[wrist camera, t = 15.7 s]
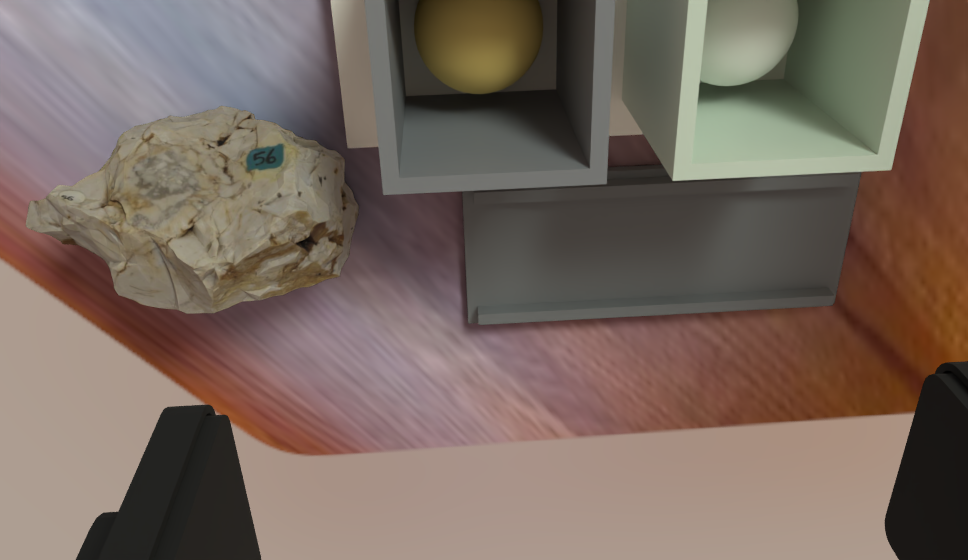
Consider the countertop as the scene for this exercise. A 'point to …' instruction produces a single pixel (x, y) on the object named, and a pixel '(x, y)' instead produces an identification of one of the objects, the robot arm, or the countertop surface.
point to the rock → (208, 212)
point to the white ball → (746, 39)
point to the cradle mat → (655, 246)
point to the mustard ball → (478, 41)
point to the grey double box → (629, 96)
